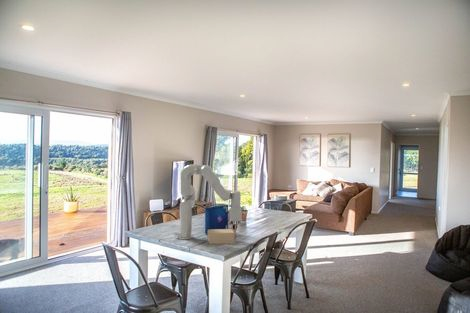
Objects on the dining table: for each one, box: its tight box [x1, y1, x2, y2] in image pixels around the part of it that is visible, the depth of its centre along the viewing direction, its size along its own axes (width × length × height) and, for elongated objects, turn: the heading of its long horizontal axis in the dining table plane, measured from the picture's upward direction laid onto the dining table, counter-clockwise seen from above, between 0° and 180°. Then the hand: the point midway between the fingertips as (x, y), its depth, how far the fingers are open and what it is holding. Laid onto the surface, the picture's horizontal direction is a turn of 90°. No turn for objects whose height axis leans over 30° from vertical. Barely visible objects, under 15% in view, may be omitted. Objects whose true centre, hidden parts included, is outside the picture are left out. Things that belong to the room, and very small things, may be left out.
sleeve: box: [207, 228, 235, 245], centre depth 250 cm, size 20×12×8 cm, turn 103°
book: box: [204, 203, 229, 236], centre depth 273 cm, size 22×7×25 cm, turn 126°
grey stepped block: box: [233, 222, 237, 242], centre depth 250 cm, size 20×10×13 cm, turn 103°
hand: (234, 229), depth 252 cm, fingers closed
